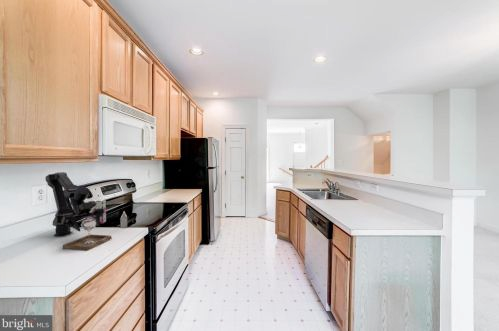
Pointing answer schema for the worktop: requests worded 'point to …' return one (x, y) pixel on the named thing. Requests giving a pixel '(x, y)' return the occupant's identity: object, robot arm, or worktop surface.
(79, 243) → the tray
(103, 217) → the candy bar box
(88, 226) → the wineglass
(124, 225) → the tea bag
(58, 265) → the worktop surface
